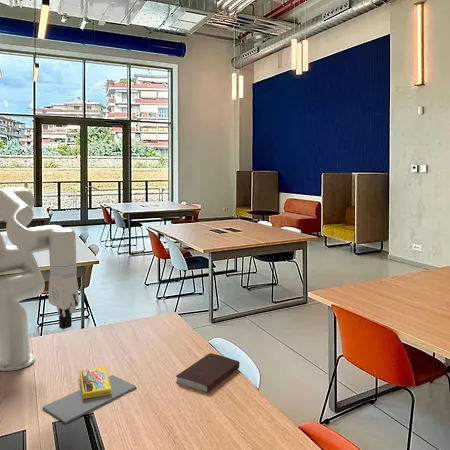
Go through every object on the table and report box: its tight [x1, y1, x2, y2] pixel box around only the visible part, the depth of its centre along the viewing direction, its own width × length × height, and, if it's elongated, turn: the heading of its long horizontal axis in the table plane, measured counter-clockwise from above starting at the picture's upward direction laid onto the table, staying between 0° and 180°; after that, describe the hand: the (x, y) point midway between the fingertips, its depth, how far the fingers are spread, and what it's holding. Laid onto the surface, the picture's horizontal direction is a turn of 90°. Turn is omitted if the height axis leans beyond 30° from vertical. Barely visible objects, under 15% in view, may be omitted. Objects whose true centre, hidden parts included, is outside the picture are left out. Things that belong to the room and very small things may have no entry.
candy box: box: [79, 366, 112, 399], centre depth 135 cm, size 16×2×8 cm
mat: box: [42, 374, 137, 424], centre depth 129 cm, size 12×24×1 cm, turn 141°
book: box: [175, 352, 240, 393], centre depth 142 cm, size 12×19×3 cm, turn 148°
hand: (65, 327), depth 134 cm, fingers closed
